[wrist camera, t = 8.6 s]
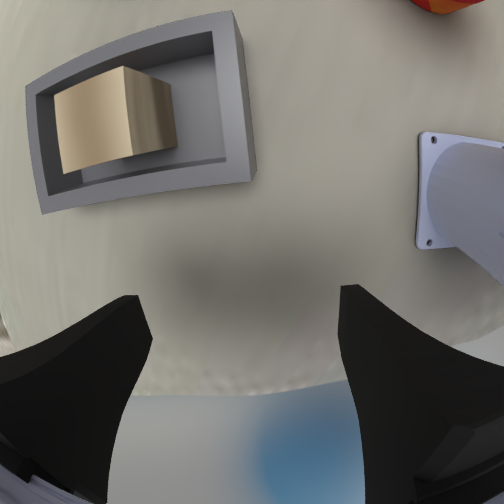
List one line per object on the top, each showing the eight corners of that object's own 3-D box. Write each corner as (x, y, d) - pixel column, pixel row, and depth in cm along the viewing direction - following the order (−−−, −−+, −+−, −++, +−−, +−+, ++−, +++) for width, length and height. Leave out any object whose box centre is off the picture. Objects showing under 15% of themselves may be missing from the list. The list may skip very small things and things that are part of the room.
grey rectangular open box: (242, 38, 14) (231, 10, 10) (256, 169, 17) (251, 181, 13) (66, 88, 15) (25, 86, 11) (80, 196, 18) (42, 214, 14)
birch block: (170, 84, 15) (123, 65, 9) (178, 146, 16) (132, 155, 11) (113, 100, 15) (54, 95, 9) (121, 158, 17) (63, 174, 11)
